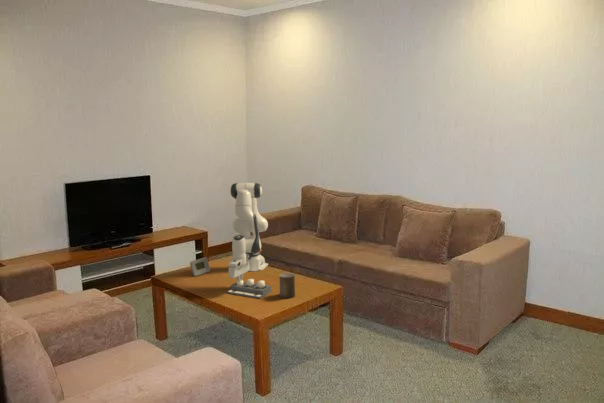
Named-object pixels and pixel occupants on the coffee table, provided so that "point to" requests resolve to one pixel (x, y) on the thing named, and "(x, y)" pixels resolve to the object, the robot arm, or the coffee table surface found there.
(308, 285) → the coffee table surface
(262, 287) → the button
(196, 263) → the digital clock
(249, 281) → the button
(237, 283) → the button
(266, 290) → the board
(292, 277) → the pillar candle
